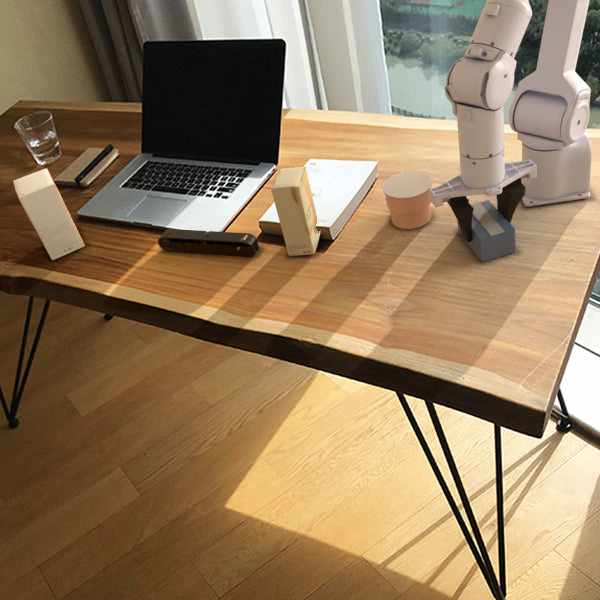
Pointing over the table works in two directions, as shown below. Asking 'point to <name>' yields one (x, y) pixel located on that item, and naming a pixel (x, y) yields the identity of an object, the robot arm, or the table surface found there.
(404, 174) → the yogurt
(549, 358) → the table surface
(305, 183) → the cosmetic box
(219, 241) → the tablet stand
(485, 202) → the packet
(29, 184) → the small box
